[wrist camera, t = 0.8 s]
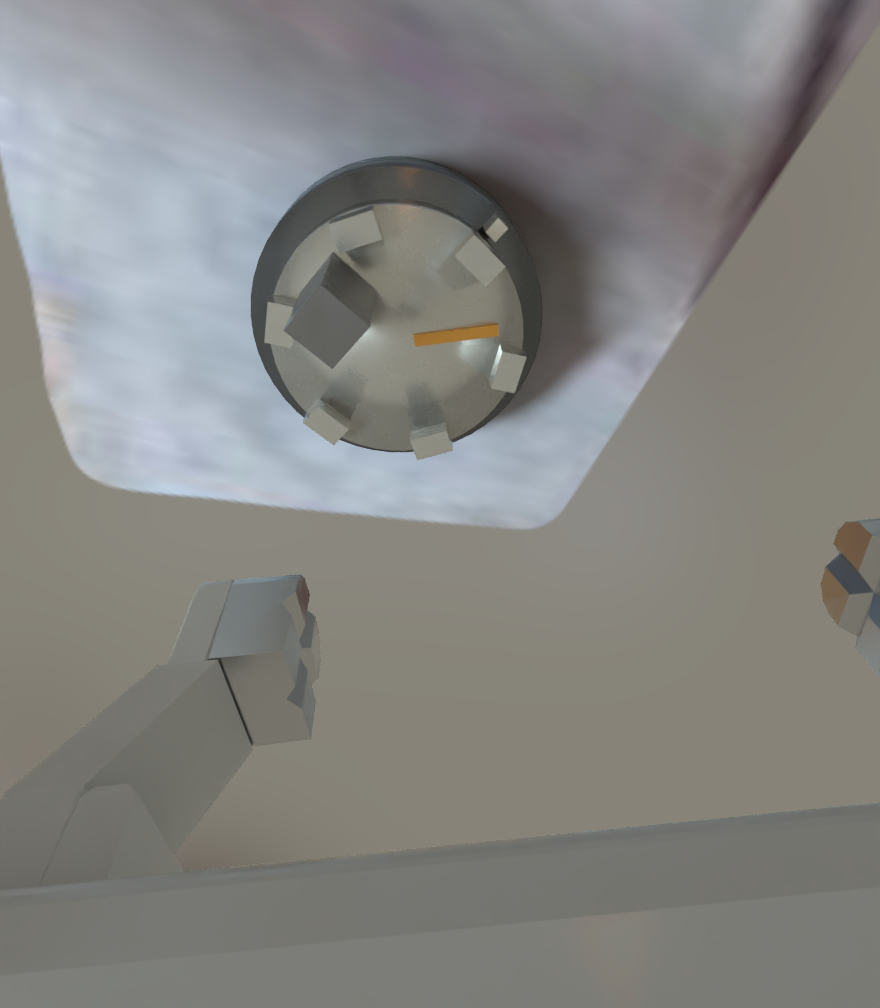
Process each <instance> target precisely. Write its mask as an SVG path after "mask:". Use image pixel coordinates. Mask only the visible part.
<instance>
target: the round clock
mask: <svg viewBox="0 0 880 1008" xmlns="http://www.w3.org/2000/svg"><path fill="white" fill-rule="evenodd" d="M264 343H269V344H271V348H272V352H273V356H274V360H275V363H276V366H277V368H278V371H279V373H280V376H281V378H282V380H283V382H284V383H285V385H286V387H287V389H288V390H289V392H290V393H291V395H292V396H293V397H294V399H295V400H296V401H297V403H298V404H299V405H300V406H301V407H302V408H303V409H304V410H305V411H306V414H305V417H304V421H303V423H304V424H305V425H307V426H308V427H310V428H311V429H312V430H314V431H315V432H316V433H318V434H319V435H320V436H322V437H323V438H325V439H326V440H327V441H329V442H330V443H331V444H333V445H335V444H336V442H337V441H338V440H339V439H340V438H341V437H342V438H344V439H346V440H349V441H351V442H354V443H357V444H360V445H363V446H367V447H371V448H375V449H383V450H398V451H406V450H414V452H415V455H416V458H417V460H420V459H424V458H427V457H431V456H435V455H438V454H442V453H445V452H449V451H452V450H453V446H452V439H454V438H456V437H458V436H460V435H462V434H464V433H465V432H467V431H468V430H470V429H472V428H473V427H475V426H476V425H477V424H478V423H479V422H481V421H482V420H483V419H484V418H486V417H487V415H488V414H489V413H490V412H491V411H492V410H493V409H494V408H495V407H496V406H497V404H498V403H499V402H500V400H501V399H502V398H503V396H504V395H505V393H506V392H511V393H515V391H516V388H517V385H518V382H519V379H520V376H521V373H522V370H523V367H524V364H525V361H526V358H527V356H526V354H525V351H524V349H522V345H523V317H522V310H521V304H520V301H519V298H518V294H517V291H516V288H515V286H514V283H513V281H512V279H511V277H510V275H509V272H508V270H507V268H506V266H505V264H504V262H503V260H502V259H501V257H500V256H499V254H498V253H497V251H496V249H495V248H494V247H493V246H492V245H491V243H490V242H489V241H488V240H487V239H486V238H485V236H484V235H482V234H481V233H480V232H479V231H478V230H477V229H476V228H475V227H474V226H472V225H471V224H470V223H468V222H467V221H465V220H464V219H462V218H461V217H459V216H458V215H456V214H454V213H452V212H450V211H448V210H446V209H444V208H442V207H439V206H436V205H432V204H429V203H426V202H422V201H416V200H411V199H397V198H387V199H378V200H370V201H367V202H363V203H359V204H355V205H352V206H350V207H348V208H345V209H343V210H341V211H338V212H337V213H335V214H333V215H332V216H330V217H328V218H327V219H325V220H323V221H322V222H321V223H320V224H319V225H317V226H316V227H315V228H314V229H313V230H311V231H310V232H309V233H308V235H307V236H306V237H305V238H304V239H303V240H302V241H301V242H300V243H299V245H298V246H297V248H296V249H295V251H294V252H293V254H292V255H291V257H290V258H289V260H288V262H287V264H286V266H285V267H284V270H283V272H282V274H281V276H280V278H279V280H278V282H277V285H276V288H275V292H274V295H271V297H270V298H269V300H268V304H267V316H266V328H265V340H264Z"/></svg>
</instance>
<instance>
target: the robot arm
mask: <svg viewBox="0 0 880 1008" xmlns="http://www.w3.org/2000/svg"><path fill="white" fill-rule="evenodd" d="M834 546H835V547H836V549H837V551H838V552H839V555H838V556H837V557H835V558H834V559H833V560H832V561H831V562H830V563H829V564H828V565H827V566H826V567H825V570H824V574H823V577H822V581H821V589H822V598H823V602H824V604H825V607H826V609H827V611H828V613H829V615H830V616H831V617H832V619H833V620H834V621H835V623H836V624H837V625H838V626H839V627H841V628H843V629H845V630H847V631H849V632H851V633H852V634H854V635H856V636H857V640H856V649H857V650H858V652H859V653H860V654H861V655H862V657H863V658H864V659H865V660H866V662H867V663H868V664H869V665H870V667H871V668H872V669H873V670H874V672H875V673H876V674H877V675H878V676H879V678H880V518H877V519H867V520H858V521H848V522H845V523H844V524H843V525H842V527H841V528H840V529H839V530H838V532H837V534H836V537H835V540H834ZM309 597H310V594H309V590H308V587H307V583H306V580H305V578H304V577H303V576H302V575H290V576H276V577H263V578H250V579H237V580H236V581H234V580H229V581H217V582H205V583H202V584H201V585H200V586H199V587H198V588H197V589H196V591H195V593H194V596H193V599H192V601H191V604H190V606H189V609H188V612H187V614H186V617H185V619H184V622H183V624H182V627H181V630H180V633H179V635H178V637H177V640H176V643H175V645H174V648H173V651H172V653H171V656H170V658H169V661H168V663H167V664H165V665H157V666H156V667H154V668H153V669H152V670H151V671H150V672H148V673H147V674H146V675H145V676H144V677H142V678H141V679H140V680H139V681H138V682H137V683H135V684H134V685H133V686H132V687H130V688H129V689H128V690H127V691H126V692H124V693H123V694H122V695H121V696H120V697H119V698H117V699H116V700H115V701H114V702H113V703H111V704H110V705H109V706H108V707H107V708H105V709H104V710H103V711H102V712H101V713H99V714H98V715H97V716H96V717H95V718H93V719H92V720H91V721H90V722H89V723H88V724H86V725H85V726H84V727H83V728H82V729H80V730H79V731H78V732H77V733H76V734H74V735H73V736H72V737H71V738H70V739H68V740H67V741H66V742H65V743H64V744H62V745H61V746H60V747H59V748H58V749H56V750H55V751H54V752H53V753H52V754H50V755H49V756H48V757H47V758H46V759H44V760H43V761H42V762H41V763H40V764H38V765H37V766H36V767H35V768H34V769H32V770H31V771H30V772H29V773H28V774H26V775H25V776H24V777H23V778H22V779H20V781H18V782H17V783H16V784H15V785H13V786H12V787H11V788H10V789H9V790H7V791H6V792H5V793H4V795H3V797H2V799H1V801H0V1008H880V802H878V803H868V804H859V805H848V806H838V807H828V808H819V809H809V810H799V811H790V812H779V813H769V814H759V815H749V816H740V817H729V818H719V819H708V820H699V821H688V822H679V823H668V824H658V825H648V826H638V827H627V828H617V829H607V830H597V831H587V832H577V833H567V834H556V835H547V836H536V837H526V838H516V839H507V840H496V841H486V842H476V843H466V844H457V845H446V846H436V847H426V848H417V849H406V850H397V851H387V852H376V853H366V854H356V855H346V856H336V857H326V858H316V859H306V860H296V861H286V862H275V863H265V864H255V865H246V866H235V867H226V868H215V869H205V870H195V871H185V872H183V870H182V868H181V867H180V865H179V864H178V862H177V860H176V858H175V856H174V854H175V853H176V851H177V850H178V849H179V847H180V846H181V845H182V843H183V842H184V841H185V839H186V838H187V837H188V835H189V834H190V833H191V831H192V830H193V829H194V827H195V826H196V825H197V823H198V822H199V821H200V819H201V818H202V817H203V815H204V814H205V813H206V811H207V810H208V809H209V807H210V806H211V805H212V804H213V802H214V801H215V800H216V798H217V797H218V796H219V794H220V793H221V791H222V790H223V789H224V787H225V786H226V785H227V784H228V782H229V781H230V780H231V778H232V777H233V776H234V774H235V773H236V772H237V770H238V769H239V768H240V766H241V765H242V763H243V762H244V761H245V760H246V758H247V757H248V756H249V754H250V753H251V752H252V750H253V749H252V746H259V745H268V744H275V743H283V742H291V741H299V740H307V739H311V735H312V727H313V720H314V712H315V704H316V699H315V696H314V692H313V688H312V684H313V683H314V682H315V681H316V680H317V679H318V677H319V672H320V671H319V670H320V661H321V657H320V638H319V630H318V625H317V621H316V617H315V616H314V615H313V614H312V613H310V612H309V611H308V603H309Z"/></svg>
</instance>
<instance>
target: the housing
mask: <svg viewBox="0 0 880 1008" xmlns="http://www.w3.org/2000/svg"><path fill="white" fill-rule="evenodd" d="M387 198H397V199H411V200H416V201H422V202H426V203H429V204H432V205H436V206H439V207H442V208H444V209H446V210H448V211H450V212H452V213H454V214H456V215H458V216H459V217H461V218H462V219H464V220H465V221H467V222H468V223H470V224H471V225H472V226H474V227H475V228H476V229H477V230H478V231H479V232H480V233H481V234H482V235H484V236H485V238H486V239H487V240H488V241H489V242H490V243H491V245H492V246H493V247H494V248H495V249H496V251H497V253H498V254H499V256H500V257H501V259H502V260H503V262H504V264H505V266H506V268H507V270H508V272H509V275H510V277H511V279H512V281H513V283H514V286H515V288H516V291H517V294H518V298H519V301H520V304H521V310H522V317H523V345H522V349H524V351H525V354H526V356H527V358H526V361H525V364H524V367H523V370H522V373H521V376H520V379H519V382H518V385H517V388H516V391H515V393H511V392H506V393H505V395H504V396H503V398H502V399H501V400H500V402H499V403H498V404H497V406H496V407H495V408H494V409H493V410H492V411H491V412H490V413H489V414H488V415H487V417H486V418H484V419H483V420H482V421H481V422H479V423H478V424H477V425H476V426H475V427H473V428H472V429H470V430H468V431H467V432H465V433H464V434H462V435H460V436H458V437H456V438H454V439H452V442H455V441H457V440H459V439H462V438H464V437H466V436H468V435H470V434H472V433H473V432H475V431H476V430H478V429H480V428H481V427H483V426H484V425H486V424H487V423H488V422H489V421H490V420H492V419H493V418H494V417H495V416H497V415H498V414H499V413H500V412H501V411H502V410H503V409H504V408H505V407H506V405H507V404H508V403H509V402H510V401H511V400H512V398H513V397H514V396H515V394H516V393H517V392H518V390H519V389H520V387H521V386H522V384H523V382H524V380H525V379H526V377H527V375H528V373H529V371H530V368H531V366H532V363H533V361H534V358H535V355H536V352H537V348H538V344H539V340H540V333H541V325H542V301H541V293H540V286H539V282H538V278H537V275H536V271H535V267H534V265H533V262H532V260H531V258H530V255H529V253H528V251H527V248H526V246H525V245H524V243H523V241H522V240H521V238H520V236H519V234H518V233H517V231H516V229H515V228H514V226H513V224H512V223H511V221H510V219H509V218H508V216H507V215H506V213H505V212H504V211H503V210H502V209H501V207H500V206H499V205H498V204H497V202H496V201H495V200H494V199H493V198H492V197H491V196H490V195H488V194H487V193H486V192H485V191H484V190H483V189H482V188H481V187H480V186H478V185H477V184H475V183H474V182H472V181H471V180H470V179H468V178H467V177H465V176H464V175H462V174H460V173H458V172H456V171H454V170H452V169H450V168H448V167H445V166H442V165H439V164H436V163H433V162H430V161H426V160H421V159H416V158H410V157H381V158H372V159H367V160H363V161H359V162H355V163H352V164H349V165H346V166H344V167H342V168H340V169H337V170H335V171H333V172H331V173H329V174H328V175H326V176H325V177H323V178H321V179H320V180H318V181H317V182H315V183H314V184H313V185H312V186H311V187H309V188H308V189H307V190H306V191H305V192H304V193H302V194H301V195H300V196H299V198H298V199H297V200H296V201H295V202H294V203H293V204H292V206H291V207H290V208H289V209H288V211H287V212H286V213H285V215H284V216H283V217H282V219H281V220H280V222H279V223H278V225H277V226H276V228H275V229H274V231H273V232H272V234H271V235H270V237H269V239H268V240H267V242H266V244H265V247H264V249H263V251H262V253H261V256H260V258H259V261H258V264H257V268H256V271H255V275H254V279H253V286H252V293H251V319H252V327H253V334H254V338H255V342H256V345H257V349H258V352H259V355H260V357H261V360H262V362H263V364H264V367H265V369H266V371H267V373H268V374H269V376H270V378H271V380H272V381H273V383H274V385H275V386H276V388H277V389H278V390H279V392H280V393H281V394H282V396H283V397H284V398H285V400H286V401H287V402H288V403H289V404H290V405H291V406H292V407H293V408H294V409H295V410H296V411H297V412H298V413H299V414H300V415H302V416H303V417H305V414H306V411H305V410H304V409H303V408H302V407H301V406H300V405H299V404H298V403H297V401H296V400H295V399H294V397H293V396H292V395H291V393H290V392H289V390H288V389H287V387H286V385H285V383H284V382H283V380H282V378H281V376H280V373H279V371H278V368H277V366H276V363H275V360H274V356H273V352H272V348H271V344H269V343H264V340H265V328H266V316H267V304H268V300H269V298H270V297H271V295H274V292H275V288H276V285H277V282H278V280H279V278H280V276H281V274H282V272H283V270H284V267H285V266H286V264H287V262H288V260H289V258H290V257H291V255H292V254H293V252H294V251H295V249H296V248H297V246H298V245H299V243H300V242H301V241H302V240H303V239H304V238H305V237H306V236H307V235H308V233H309V232H310V231H311V230H313V229H314V228H315V227H316V226H317V225H319V224H320V223H321V222H322V221H323V220H325V219H327V218H328V217H330V216H332V215H333V214H335V213H337V212H338V211H341V210H343V209H345V208H348V207H350V206H352V205H355V204H359V203H363V202H367V201H370V200H378V199H387ZM340 440H342V441H345V442H347V443H350V444H353V445H356V446H359V447H363V448H367V449H372V450H378V451H386V452H413V451H414V450H406V451H398V450H383V449H375V448H371V447H367V446H363V445H360V444H357V443H354V442H351V441H349V440H346V439H344V438H342V437H341V438H340Z"/></svg>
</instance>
